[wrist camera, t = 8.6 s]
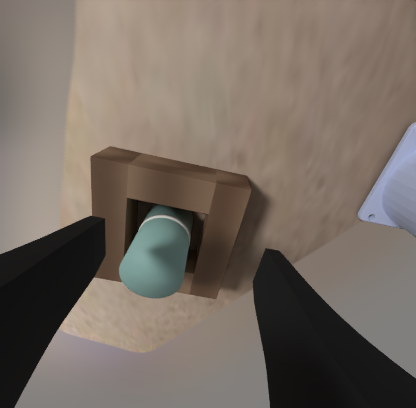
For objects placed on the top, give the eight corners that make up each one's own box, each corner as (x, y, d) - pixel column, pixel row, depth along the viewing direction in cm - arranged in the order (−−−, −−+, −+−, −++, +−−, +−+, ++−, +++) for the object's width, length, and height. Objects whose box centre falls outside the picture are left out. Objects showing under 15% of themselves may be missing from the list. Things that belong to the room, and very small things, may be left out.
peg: (197, 203, 19) (188, 256, 13) (189, 240, 21) (178, 302, 15) (150, 194, 19) (119, 244, 13) (146, 232, 21) (117, 292, 15)
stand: (246, 175, 18) (251, 190, 15) (216, 274, 23) (216, 299, 20) (110, 146, 17) (90, 156, 15) (108, 254, 22) (94, 277, 20)
